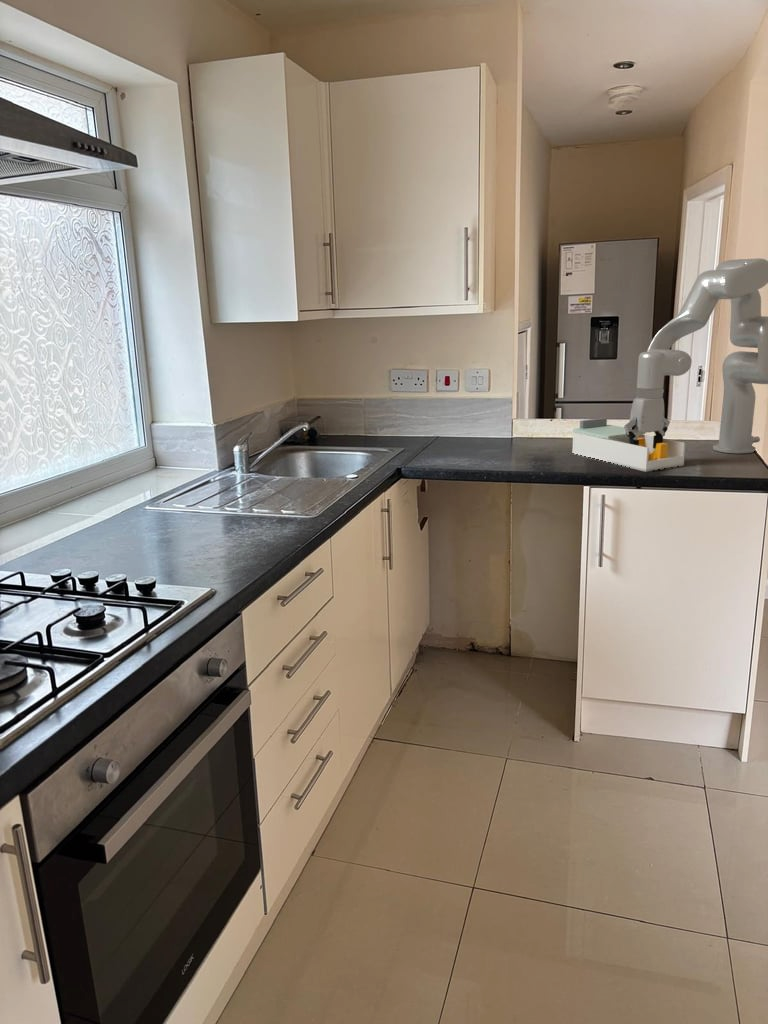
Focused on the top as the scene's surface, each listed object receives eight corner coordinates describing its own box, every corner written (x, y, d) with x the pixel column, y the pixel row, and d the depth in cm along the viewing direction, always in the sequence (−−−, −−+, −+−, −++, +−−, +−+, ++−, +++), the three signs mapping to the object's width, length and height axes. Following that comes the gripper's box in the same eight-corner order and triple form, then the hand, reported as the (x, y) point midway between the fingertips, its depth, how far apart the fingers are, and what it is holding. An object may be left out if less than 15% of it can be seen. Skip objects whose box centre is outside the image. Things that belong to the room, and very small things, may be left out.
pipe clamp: (628, 459, 242) (629, 438, 240) (639, 458, 244) (640, 437, 242) (654, 466, 231) (656, 445, 230) (666, 465, 233) (667, 443, 231)
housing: (607, 448, 262) (609, 427, 260) (683, 465, 234) (685, 442, 232) (572, 453, 256) (573, 432, 254) (645, 471, 228) (647, 448, 226)
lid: (609, 427, 260) (609, 417, 259) (645, 433, 246) (645, 423, 245) (573, 431, 254) (573, 421, 253) (608, 438, 240) (608, 428, 239)
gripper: (661, 390, 239) (657, 445, 244) (618, 394, 232) (615, 451, 236) (680, 393, 233) (675, 449, 237) (636, 397, 225) (633, 455, 230)
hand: (645, 450), depth 237 cm, fingers open, 9 cm apart
